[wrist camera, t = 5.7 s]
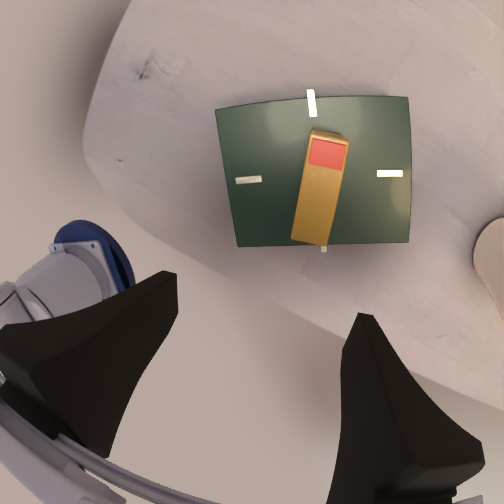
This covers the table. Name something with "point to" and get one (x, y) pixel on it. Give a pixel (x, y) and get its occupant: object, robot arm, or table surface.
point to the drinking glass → (492, 261)
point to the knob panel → (292, 162)
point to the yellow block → (320, 186)
